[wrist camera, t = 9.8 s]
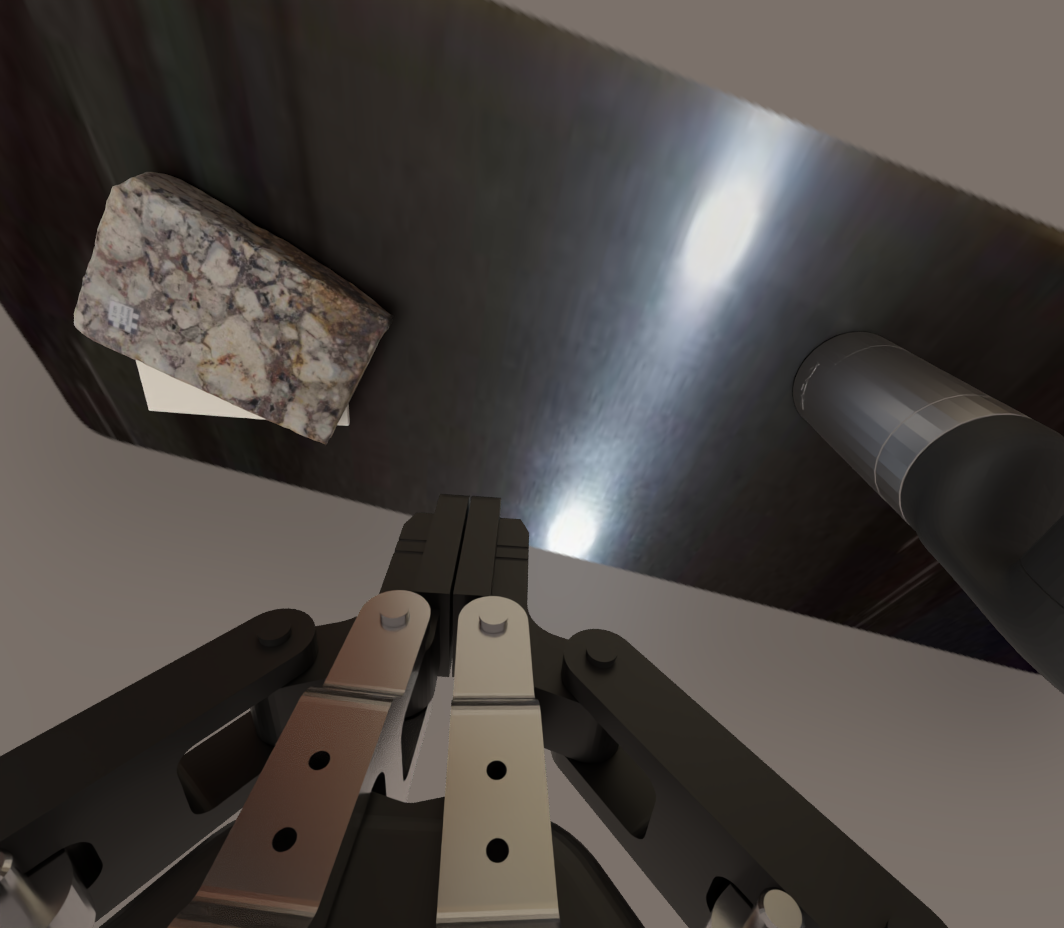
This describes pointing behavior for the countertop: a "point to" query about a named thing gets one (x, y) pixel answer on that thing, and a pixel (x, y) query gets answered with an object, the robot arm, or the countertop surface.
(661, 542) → the countertop surface
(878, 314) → the countertop surface
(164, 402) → the mat
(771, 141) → the countertop surface
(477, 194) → the countertop surface
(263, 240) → the stone block
